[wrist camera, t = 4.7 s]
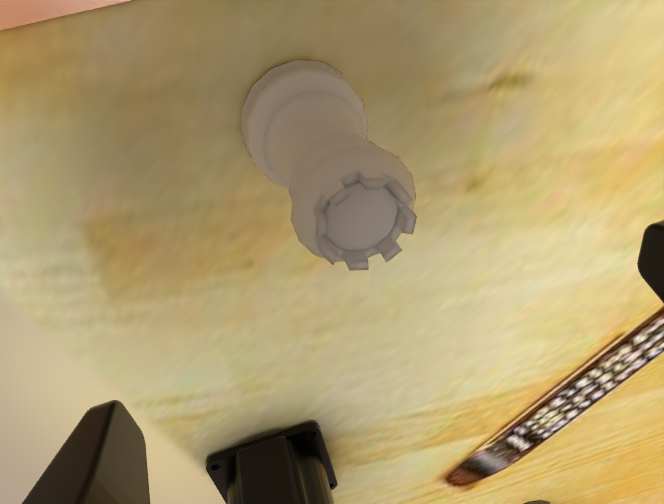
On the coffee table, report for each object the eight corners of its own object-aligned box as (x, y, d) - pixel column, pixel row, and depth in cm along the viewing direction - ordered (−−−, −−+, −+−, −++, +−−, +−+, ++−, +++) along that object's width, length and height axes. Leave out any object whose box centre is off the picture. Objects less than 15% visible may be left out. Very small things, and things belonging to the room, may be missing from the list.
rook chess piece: (374, 75, 18) (485, 157, 11) (337, 185, 20) (412, 309, 13) (254, 40, 16) (303, 112, 10) (227, 164, 18) (252, 292, 12)
